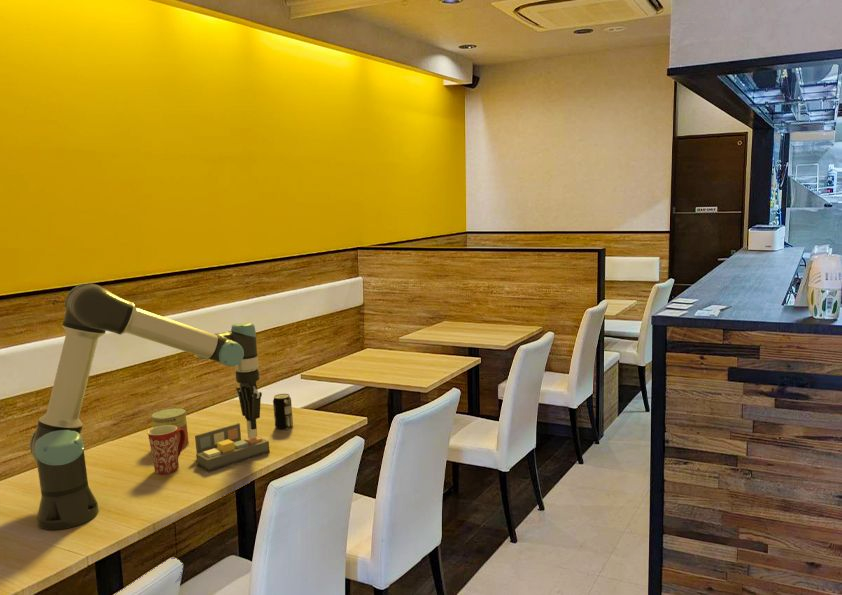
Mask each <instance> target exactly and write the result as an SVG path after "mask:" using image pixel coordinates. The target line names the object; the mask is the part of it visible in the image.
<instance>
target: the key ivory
mask: <svg viewBox="0 0 842 595" xmlns="http://www.w3.org/2000/svg"><path fill="white" fill-rule="evenodd" d="M219 454H221V453H220V451H219V450H217V449H215V448H214V449H211V450H207V451H204V452H203V455H204V456H206V457H208V458H210V457H213V456H216V455H219Z"/></svg>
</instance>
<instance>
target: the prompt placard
mask: <svg viewBox="0 0 842 595" xmlns="http://www.w3.org/2000/svg"><path fill="white" fill-rule="evenodd" d="M194 439H195V449H196V454H198V453H201V452H204V451H207V450H211V449H214V448H217V442H221V441H224V440H227V439H229V440H231V441H233V442H237V441H240V440H242V435H241V425H240V423H239V422H238V423H234V424H230V425H227V426H223V427H219V428H216V429H212V430H209V431H206V432H202V433H199V434H195V435H194Z"/></svg>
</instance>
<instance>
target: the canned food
mask: <svg viewBox="0 0 842 595" xmlns="http://www.w3.org/2000/svg"><path fill="white" fill-rule="evenodd" d="M186 413H187V412H186V409H184V408H179V407H178V408H177V407H174V408H165V409H160V410H158V411H155V412H153V413H152V414H151V419H152V428H155V427H158V426H164V425H173V426H176V427H177V428H180V429H183V430H184V432H185V441H184V445H183V448H182V450H183V449H185V448H186V447H188V446H189V444H190V441H189V432H188V423H187V414H186ZM179 442H180V432H178V433H177V443H178V445H179Z"/></svg>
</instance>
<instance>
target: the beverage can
mask: <svg viewBox="0 0 842 595" xmlns="http://www.w3.org/2000/svg"><path fill="white" fill-rule="evenodd" d="M272 403H273V405H272V406H273V416H274V417H273V418H274V426H275V428H276V429H277V430H288V429H291V428H292V427H293V425H294V417H293V407H292V406H293V405H292V398H291V397H290V394H288V393H280V394H279V393H278V394H275V395H274V396H273V400H272Z"/></svg>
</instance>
